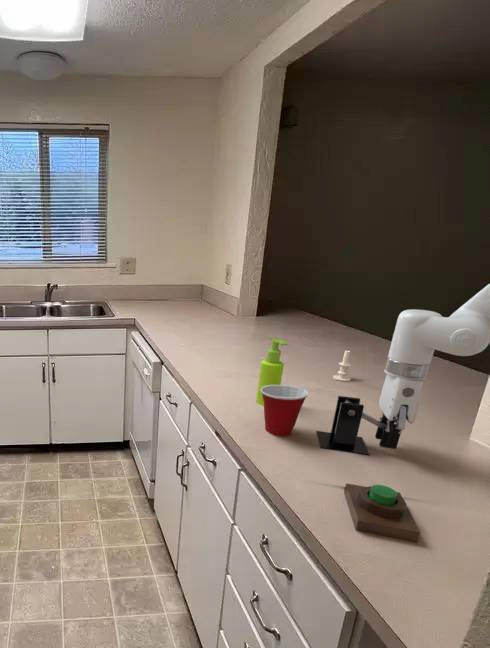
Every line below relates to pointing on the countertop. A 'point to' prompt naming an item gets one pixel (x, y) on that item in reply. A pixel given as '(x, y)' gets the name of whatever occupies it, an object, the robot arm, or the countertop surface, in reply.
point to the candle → (343, 368)
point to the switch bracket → (345, 428)
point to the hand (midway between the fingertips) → (385, 442)
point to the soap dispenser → (271, 368)
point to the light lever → (371, 419)
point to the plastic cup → (282, 407)
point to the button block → (380, 515)
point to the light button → (383, 494)
